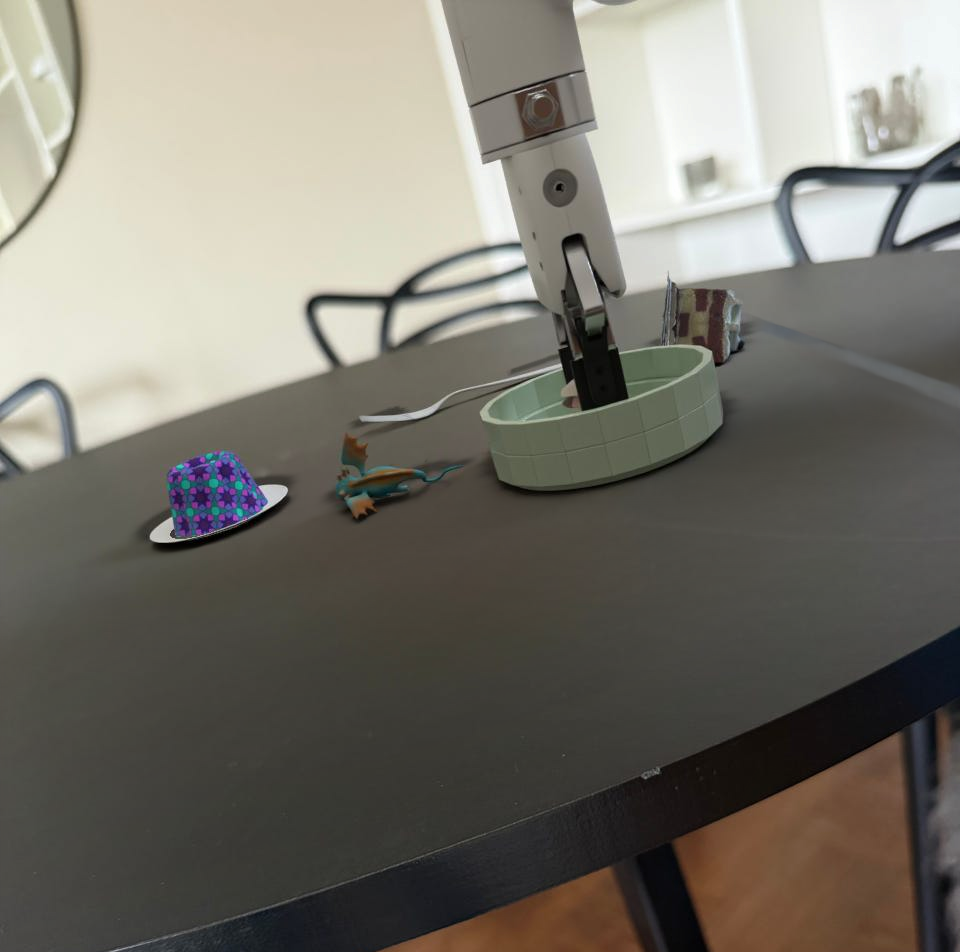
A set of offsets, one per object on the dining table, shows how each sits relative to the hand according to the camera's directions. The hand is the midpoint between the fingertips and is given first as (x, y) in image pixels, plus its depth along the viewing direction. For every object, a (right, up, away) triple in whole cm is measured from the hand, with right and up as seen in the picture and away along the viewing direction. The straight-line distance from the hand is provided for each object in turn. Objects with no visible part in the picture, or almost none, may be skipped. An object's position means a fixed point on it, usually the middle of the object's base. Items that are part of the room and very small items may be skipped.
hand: (599, 402), depth 71 cm
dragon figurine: (-15, -6, +6) cm, 17 cm away
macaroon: (0, 0, 0) cm, 1 cm away
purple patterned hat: (-30, -7, +15) cm, 34 cm away
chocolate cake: (+12, +8, +19) cm, 24 cm away
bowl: (+1, -3, +1) cm, 4 cm away
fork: (-8, +8, +31) cm, 33 cm away
